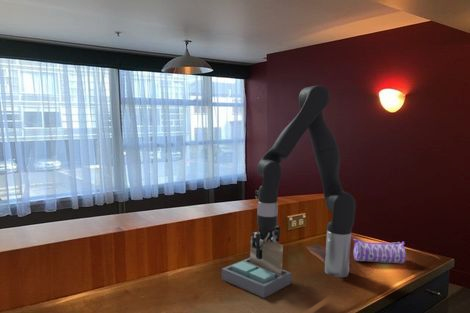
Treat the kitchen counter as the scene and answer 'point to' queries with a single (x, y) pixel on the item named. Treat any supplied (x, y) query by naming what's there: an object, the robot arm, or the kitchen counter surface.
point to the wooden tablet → (318, 252)
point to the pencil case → (379, 252)
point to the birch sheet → (268, 256)
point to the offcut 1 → (243, 268)
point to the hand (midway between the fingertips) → (265, 255)
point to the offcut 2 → (261, 275)
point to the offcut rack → (253, 285)
